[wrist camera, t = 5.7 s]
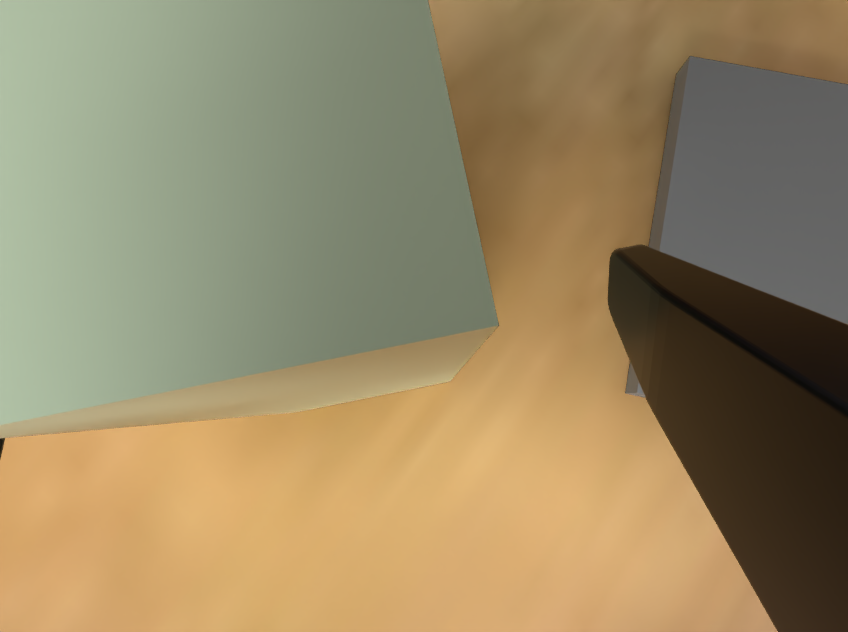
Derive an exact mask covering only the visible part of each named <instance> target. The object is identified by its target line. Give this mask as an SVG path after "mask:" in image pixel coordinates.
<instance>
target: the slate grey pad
mask: <svg viewBox="0 0 848 632" xmlns="http://www.w3.org/2000/svg"><path fill="white" fill-rule="evenodd" d="M649 247H650V248H653V249H656V250H658V251H661V252H663V253H666V254H668V255H671V256H673V257H676V258H679V259H681V260H684V261H686V262H689V263H691V264H694V265H697V266H699V267H702V268H704V269H707V270H709V271H712V272H715V273H717V274H720V275H722V276H725V277H727V278H730V279H733V280H735V281H738V282H740V283H743V284H745V285H748V286H751V287H753V288H756V289H758V290H761V291H763V292H766V293H769V294H771V295H774V296H776V297H779V298H781V299H784V300H787V301H789V302H792V303H794V304H797V305H799V306H802V307H805V308H807V309H810V310H812V311H815V312H817V313H820V314H823V315H825V316H828V317H830V318H833V319H835V320H838V321H841V322H843V323H846V324H848V84H842V83H837V82H831V81H826V80H820V79H815V78H809V77H804V76H798V75H792V74H787V73H781V72H776V71H770V70H765V69H759V68H754V67H748V66H743V65H737V64H732V63H726V62H720V61H715V60H709V59H704V58H698V57H693V56H690V57H689V58H688V59H687V61H686V62H685V63H684V65H683V66H682V67H681V69H680V70H679V71H678V73H677V74H676V79H675V85H674V91H673V97H672V104H671V110H670V116H669V122H668V129H667V135H666V141H665V147H664V154H663V160H662V166H661V172H660V179H659V185H658V191H657V197H656V204H655V210H654V216H653V222H652V229H651V235H650V241H649ZM625 393H626V394H631V395H635V396H640V397H645V395H644V393H643V391H642V388H641V386H640V384H639V381H638V379H637V376H636V374H635V372H634V369H633V367H632V364H631V362H630V366H629V372H628V378H627V385H626V391H625ZM645 398H646V397H645Z"/></svg>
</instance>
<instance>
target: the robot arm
mask: <svg viewBox="0 0 848 632" xmlns="http://www.w3.org/2000/svg"><path fill="white" fill-rule="evenodd" d="M608 305H609V310H610V313H611V316H612V319H613V321H614V323H615V326H616V328H617V331H618V333H619V335H620V338H621V340H622V343H623V345H624V348H625V350H626V352H627V355H628V357H629V360H630V362H631V364H632V367H633V369H634V372H635V374H636V376H637V379H638V381H639V384H640V386H641V388H642V391H643V393H644V395H645V397H646V400H647V402H648V404H649V405H650V407H651V409H652V411H653V413H654V415H655V417H656V418H657V420H658V422H659V424H660V425H661V427H662V429H663V431H664V433H665V434H666V436H667V438H668V440H669V441H670V443H671V445H672V447H673V448H674V450H675V452H676V454H677V455H678V457H679V459H680V461H681V462H682V464H683V466H684V468H685V469H686V471H687V473H688V475H689V476H690V478H691V480H692V482H693V484H694V485H695V487H696V489H697V491H698V492H699V494H700V496H701V498H702V499H703V501H704V503H705V505H706V506H707V508H708V510H709V512H710V513H711V515H712V517H713V519H714V520H715V522H716V524H717V526H718V527H719V529H720V531H721V533H722V534H723V536H724V538H725V540H726V542H727V543H728V545H729V547H730V549H731V550H732V552H733V554H734V556H735V557H736V559H737V561H738V563H739V564H740V566H741V568H742V570H743V571H744V573H745V575H746V577H747V578H748V580H749V582H750V584H751V585H752V587H753V589H754V591H755V592H756V594H757V596H758V598H759V600H760V601H761V603H762V605H763V607H764V608H765V610H766V612H767V614H768V615H769V617H770V619H771V621H772V622H773V624H774V626H775V628H776V629H777V631H778V632H848V324H846V323H843V322H841V321H838V320H835V319H833V318H830V317H828V316H825V315H823V314H820V313H817V312H815V311H812V310H810V309H807V308H805V307H802V306H799V305H797V304H794V303H792V302H789V301H787V300H784V299H781V298H779V297H776V296H774V295H771V294H769V293H766V292H763V291H761V290H758V289H756V288H753V287H751V286H748V285H745V284H743V283H740V282H738V281H735V280H733V279H730V278H727V277H725V276H722V275H720V274H717V273H715V272H712V271H709V270H707V269H704V268H702V267H699V266H697V265H694V264H691V263H689V262H686V261H684V260H681V259H679V258H676V257H673V256H671V255H668V254H666V253H663V252H661V251H658V250H656V249H653V248H650V247H648V246H645V245H634V246H629V247H625V248H620V249H616V250H614V251H613V252H612V254H611V257H610V264H609V283H608ZM4 441H5V438H0V458H1V454H2V450H3V445H4Z"/></svg>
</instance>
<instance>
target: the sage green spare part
mask: <svg viewBox="0 0 848 632" xmlns="http://www.w3.org/2000/svg"><path fill="white" fill-rule="evenodd" d="M498 326H499V323H498V319H497V314H496V310H495V305H494V301H493V296H492V291H491V287H490V282H489V278H488V273H487V269H486V264H485V259H484V255H483V250H482V246H481V241H480V237H479V232H478V227H477V223H476V218H475V214H474V209H473V205H472V200H471V195H470V191H469V186H468V182H467V177H466V173H465V168H464V163H463V159H462V154H461V150H460V145H459V140H458V136H457V131H456V127H455V122H454V118H453V113H452V108H451V104H450V99H449V95H448V90H447V86H446V81H445V76H444V72H443V67H442V63H441V58H440V54H439V49H438V44H437V40H436V35H435V31H434V26H433V22H432V17H431V12H430V8H429V3H428V0H0V438H10V437H21V436H33V435H44V434H56V433H67V432H78V431H90V430H101V429H112V428H124V427H135V426H147V425H158V424H169V423H181V422H192V421H204V420H215V419H226V418H238V417H249V416H260V415H272V414H283V413H295V412H301V411H306V410H311V409H316V408H321V407H326V406H331V405H336V404H341V403H346V402H351V401H356V400H361V399H366V398H371V397H376V396H381V395H386V394H391V393H396V392H401V391H406V390H411V389H416V388H421V387H426V386H431V385H436V384H441V383H446V382H450V381H451V380H452V379H453V378H454V376H455V375H456V374H457V373H458V372H459V371H460V370H461V368H462V367H463V366H464V365H465V364H466V363H467V362H468V360H469V359H470V358H471V357H472V356H473V355H474V354H475V352H476V351H477V350H478V349H479V348H480V347H481V346H482V344H483V343H484V342H485V341H486V340H487V339H488V337H489V336H490V335H491V334H492V333H493V332H494V331H495V329H496V328H497V327H498Z"/></svg>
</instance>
